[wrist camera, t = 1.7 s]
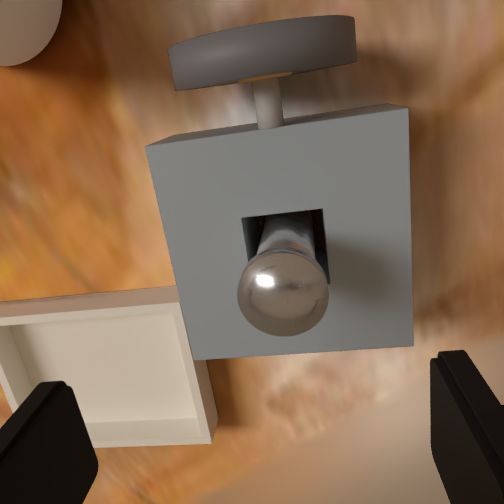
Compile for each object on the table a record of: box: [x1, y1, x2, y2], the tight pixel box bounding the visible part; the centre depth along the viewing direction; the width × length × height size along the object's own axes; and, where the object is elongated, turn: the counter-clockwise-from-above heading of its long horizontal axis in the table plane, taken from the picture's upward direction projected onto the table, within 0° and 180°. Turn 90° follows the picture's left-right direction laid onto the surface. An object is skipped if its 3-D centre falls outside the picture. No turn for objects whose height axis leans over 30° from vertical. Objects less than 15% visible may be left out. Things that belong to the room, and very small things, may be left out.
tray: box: [0, 286, 218, 448], centre depth 30 cm, size 14×11×2 cm
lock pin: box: [237, 210, 329, 337], centre depth 22 cm, size 4×4×10 cm
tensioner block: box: [145, 15, 414, 360], centre depth 22 cm, size 12×16×8 cm
